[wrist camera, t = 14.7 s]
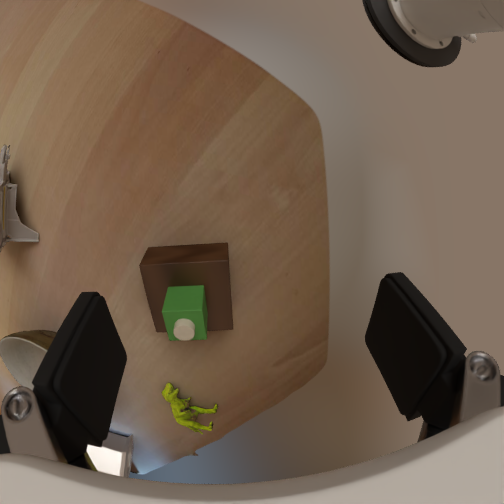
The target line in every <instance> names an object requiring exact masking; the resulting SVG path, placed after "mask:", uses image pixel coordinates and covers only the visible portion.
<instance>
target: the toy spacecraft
mask: <svg viewBox="0 0 504 504" xmlns="http://www.w3.org/2000/svg"><path fill="white" fill-rule="evenodd" d="M8 147H9V148H10V145H9V146H8ZM6 150H7V145H4V146H3V148H2V150H1V153H0V252H1V250H2V247H4V246H5V245H6V242H9V241H15V242H39V240H38V238H39V233H37V232H35V231H33V230H32V229H30V228H28V227H27V226H25V225H23V224H22V223H21V221H20V219H19V216H18V214H17V212H16V192H17V184H11V183H10V179H9V173H10V172H9V171H7V163H8V161H7V160H8V159H10V155H9V150H10V149H9V150H7V154H6ZM5 159H6V160H5ZM9 187H12V188H11V189H9ZM8 235H9V236H10V237H11V238H9V237H8Z"/></svg>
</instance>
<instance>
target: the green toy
mask: <svg viewBox="0 0 504 504" xmlns="http://www.w3.org/2000/svg"><path fill="white" fill-rule="evenodd" d="M162 314H163V318H164V322H165V326H166V330H167V333H168V337H169V340H170V341H171V340H183V341H188V340H206V339H207V317H208V313H207V305H206V298H205V290H204V285H198V286H177V287H168V289H167V293H166V297H165V301H164V305H163V309H162Z"/></svg>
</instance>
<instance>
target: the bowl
mask: <svg viewBox="0 0 504 504" xmlns="http://www.w3.org/2000/svg"><path fill="white" fill-rule="evenodd" d="M56 334H57V332H52V331H46V330H34V331H23V332H18V333H13V334H10V335H8V336H6V337H4V338H2V340H1V341H0V355H1V357H2V359H3V362H4V363H5V365H6V367H7V368H8V370H9V371H10V373H11V374H12V376H13V377H14V378H15V379H16V381H17V382H19V383H20V385H21V386H25V387H28V388H30V389H31V390H33V388H34V385H33V384H32V381H33V378H34V376H35V374H36V372H37V370H38V368H39V366H40V364H41V362H42V360H43V358H44V356H45V354H46V352H47V350H48V349H49V347H50V345H51V343H52V341H53V339H54V337H55V336H56Z"/></svg>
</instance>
